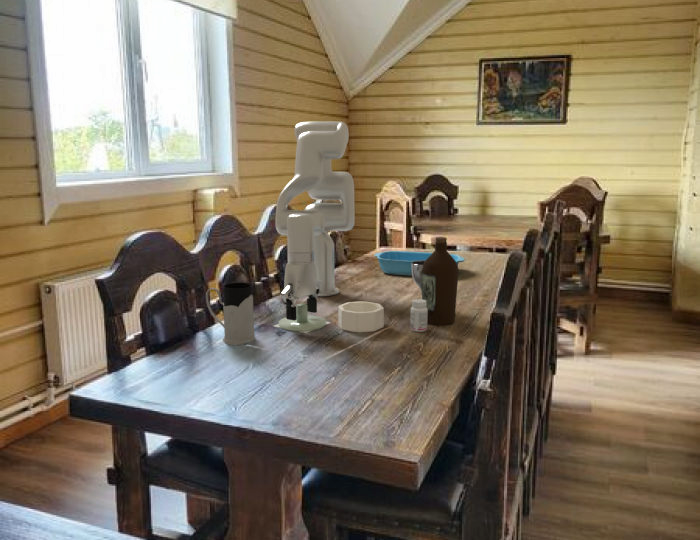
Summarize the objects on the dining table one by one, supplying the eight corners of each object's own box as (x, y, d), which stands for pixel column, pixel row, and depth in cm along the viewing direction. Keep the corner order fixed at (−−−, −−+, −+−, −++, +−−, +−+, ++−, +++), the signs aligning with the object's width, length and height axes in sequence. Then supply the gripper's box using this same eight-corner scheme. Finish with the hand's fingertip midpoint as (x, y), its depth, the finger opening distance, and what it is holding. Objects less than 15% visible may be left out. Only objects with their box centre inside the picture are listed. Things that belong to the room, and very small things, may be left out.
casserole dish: (466, 269, 259) (466, 252, 258) (462, 280, 238) (462, 262, 236) (380, 265, 268) (380, 249, 267) (369, 275, 247) (369, 258, 245)
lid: (268, 326, 176) (268, 306, 175) (297, 315, 187) (297, 296, 186) (306, 334, 169) (306, 313, 168) (334, 322, 180) (334, 303, 179)
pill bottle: (428, 328, 176) (429, 299, 174) (425, 332, 172) (425, 303, 170) (412, 326, 178) (413, 298, 176) (408, 331, 173) (409, 302, 171)
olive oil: (443, 314, 190) (446, 234, 185) (464, 323, 180) (467, 239, 175) (414, 318, 186) (415, 236, 181) (433, 327, 176) (435, 241, 171)
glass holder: (245, 346, 160) (243, 290, 157) (199, 340, 165) (196, 286, 162) (261, 336, 168) (260, 283, 165) (217, 331, 173) (214, 279, 170)
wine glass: (434, 312, 192) (436, 265, 189) (409, 311, 194) (410, 264, 191) (436, 306, 200) (437, 260, 197) (411, 304, 201) (412, 259, 198)
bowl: (331, 329, 175) (331, 308, 174) (354, 319, 185) (354, 299, 184) (367, 336, 168) (368, 315, 167) (389, 325, 179) (390, 305, 177)
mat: (272, 327, 176) (272, 326, 176) (298, 317, 186) (298, 316, 186) (306, 334, 170) (306, 332, 170) (331, 324, 180) (331, 322, 180)
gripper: (308, 251, 183) (309, 307, 186) (270, 260, 169) (272, 320, 172) (329, 254, 179) (329, 311, 182) (292, 263, 165) (293, 324, 168)
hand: (301, 315), depth 177 cm, fingers open, 9 cm apart
